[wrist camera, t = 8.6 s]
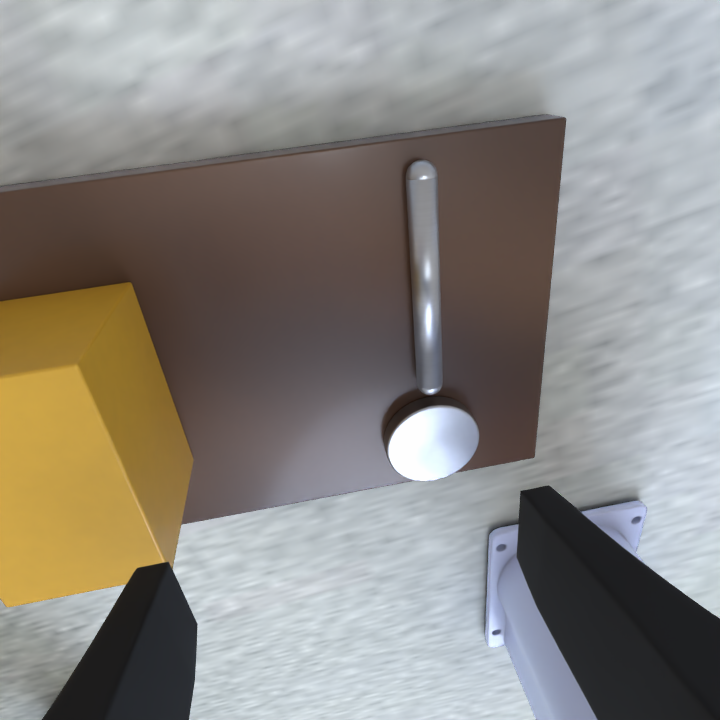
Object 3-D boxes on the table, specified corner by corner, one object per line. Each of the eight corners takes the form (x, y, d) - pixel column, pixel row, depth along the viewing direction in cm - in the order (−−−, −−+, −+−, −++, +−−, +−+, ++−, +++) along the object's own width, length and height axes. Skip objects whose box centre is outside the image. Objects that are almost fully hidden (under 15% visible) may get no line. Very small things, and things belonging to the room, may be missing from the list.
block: (194, 459, 19) (172, 576, 14) (68, 482, 18) (5, 609, 14) (131, 281, 15) (76, 364, 11) (-27, 304, 15) (-149, 400, 10)
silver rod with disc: (472, 461, 21) (481, 476, 20) (387, 477, 20) (391, 493, 20) (477, 149, 15) (488, 153, 14) (355, 166, 14) (360, 171, 14)
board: (523, 440, 22) (535, 458, 21) (52, 528, 21) (40, 552, 20) (548, 113, 16) (567, 117, 15) (-140, 204, 14) (-171, 215, 13)
